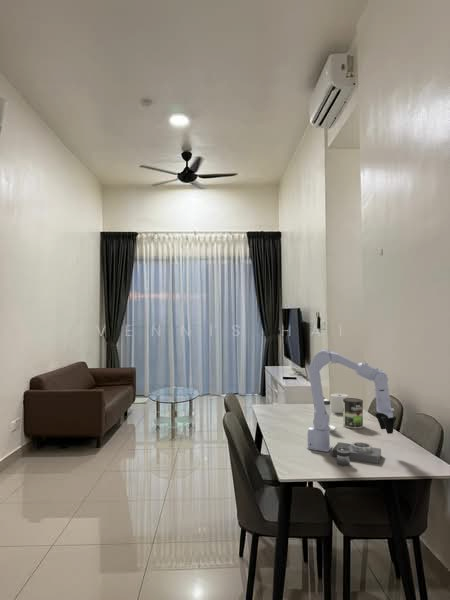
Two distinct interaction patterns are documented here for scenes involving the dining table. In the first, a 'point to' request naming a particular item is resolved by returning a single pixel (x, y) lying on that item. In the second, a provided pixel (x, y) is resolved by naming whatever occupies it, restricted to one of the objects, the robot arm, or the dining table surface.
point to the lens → (343, 456)
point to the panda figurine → (328, 412)
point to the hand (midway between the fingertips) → (386, 431)
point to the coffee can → (353, 413)
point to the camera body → (360, 452)
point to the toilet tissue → (337, 402)
